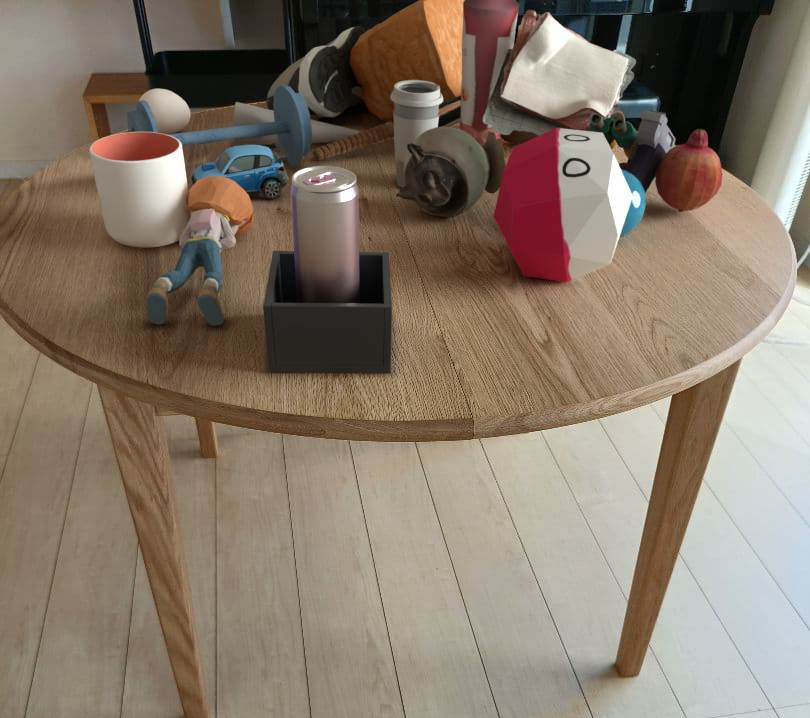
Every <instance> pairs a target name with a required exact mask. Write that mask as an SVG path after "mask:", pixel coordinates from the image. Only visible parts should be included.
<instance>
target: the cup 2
mask: <svg viewBox="0 0 810 718" xmlns="http://www.w3.org/2000/svg"><path fill="white" fill-rule="evenodd" d="M390 98H391V100H392V101H393V102H394V111H393V116H394V137H393V141H394V143H393V144H394V158H395V166H396V167H395V168H396V169H395V171H396V185H398V187H400V188H402V189H403V188H404V186H405V182H404V164H405V159H406V155H407V152H408V148H407V145H408V144H411V143H413V142H414V141H415V140H416V139H417V138H418V137H419V136H420V135H421V134H422V133H424V132H425V131H427V130H429V129H432V128H436V127H438V120H439V116H440V112H439V110H440V109H439V104H441V103H442V102H443V96H442V94H441V93H440V86H439V85H437V84H435V83H432V82H429V81H422V80H407V81H401V82H398V83H396V84H395V85H394V90H393V91H392V93H391V96H390Z"/></svg>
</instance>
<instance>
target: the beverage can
mask: <svg viewBox="0 0 810 718" xmlns="http://www.w3.org/2000/svg"><path fill="white" fill-rule="evenodd" d="M289 193H290V207H291V209H290V210H291V224H292V225H291V227H292V240H293V241H292V242H293V251H294V260H295V276H296V293H297V303H360V302H359V252H360V190H359V187H358V184H357V175H356V173H354V172H352V170H349V169H347V168H344V167H340V166H335V165H313V166H307V167H304V168H301V169H299V170H297V171H295V172H294V173H293V174H292V176H291V186H290V191H289Z"/></svg>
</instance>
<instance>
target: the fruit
mask: <svg viewBox="0 0 810 718" xmlns="http://www.w3.org/2000/svg"><path fill="white" fill-rule="evenodd" d="M708 145H709V137H708V133H707V131H706V130H705V129H703V128H697V129H695V130H693V132H691V134H690V135H689V137H688V139H687V141H686V142H685V143H682V144H677V145H674V146H675V147H673V148H672V149H670V150H669V151H668V152H667V153H666V154H665V155H664V157H663V158H662V160H661V161H660V164H659V166H658V168H657V171H656V180H655V181H654V185H655V187H656V190H657V194H658V195H659V196H660V198H661V199H662V201H664V202H665V203H666V204H667V205H668V206H670V207H671V208H673V209H676V210H678V212H679V213H682V212H688V211H694V210H698V209H699V208H701V207H703V206H704V205H706V204H707V203H709V202H710V201H711V200H712V199H713V198H714V197H715V196H716V195H717V194H718V192H719V190H720V188H721V186H722V181H723V168H722V163H721V158H720V157H719V155H718V154H717V153H716V151H714V149H712V148H711V147H709V146H708Z"/></svg>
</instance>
